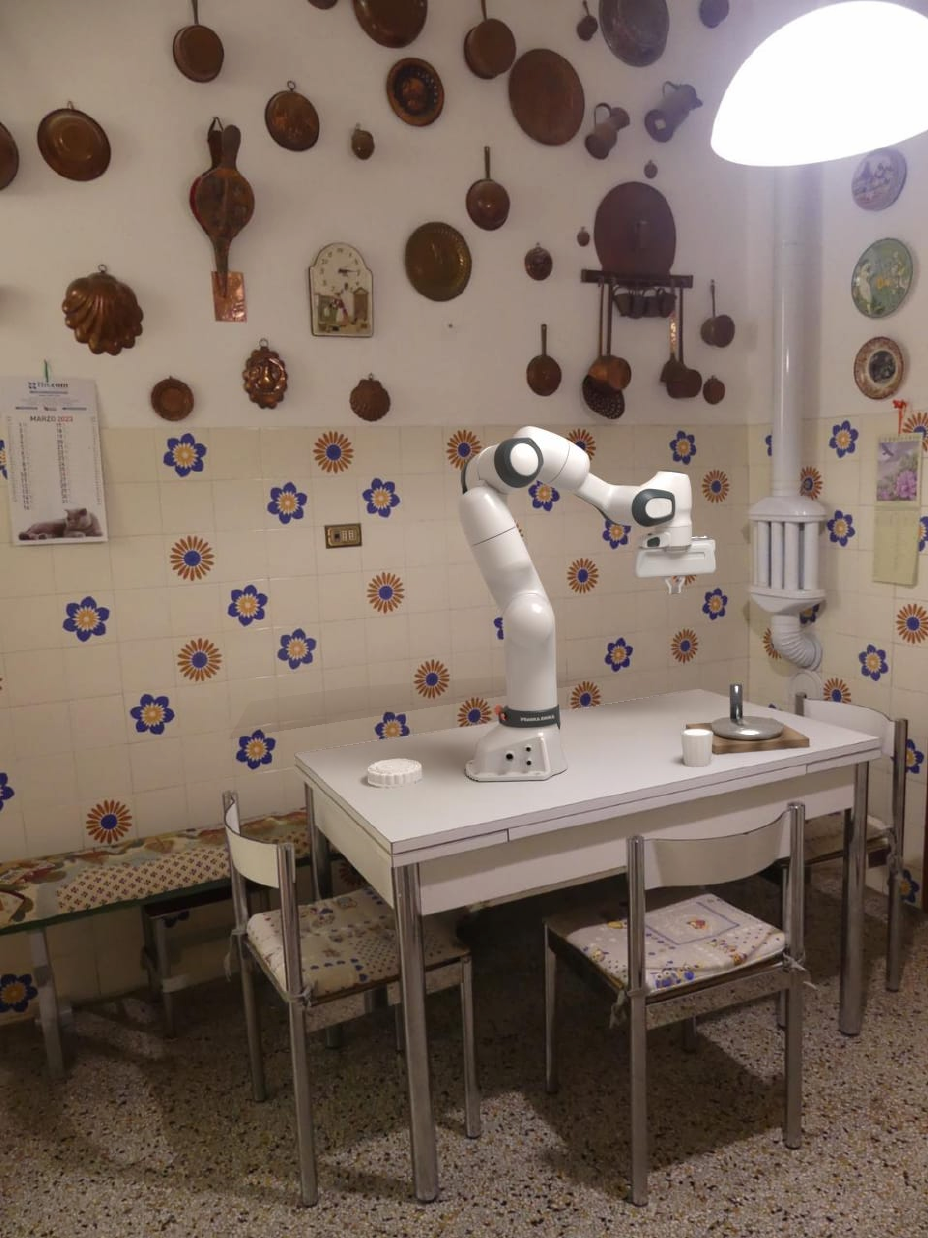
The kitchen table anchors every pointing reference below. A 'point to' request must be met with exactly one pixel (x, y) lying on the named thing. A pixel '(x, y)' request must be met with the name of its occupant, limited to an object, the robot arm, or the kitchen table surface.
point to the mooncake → (394, 771)
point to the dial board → (754, 741)
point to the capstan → (744, 721)
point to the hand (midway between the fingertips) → (673, 593)
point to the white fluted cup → (697, 747)
